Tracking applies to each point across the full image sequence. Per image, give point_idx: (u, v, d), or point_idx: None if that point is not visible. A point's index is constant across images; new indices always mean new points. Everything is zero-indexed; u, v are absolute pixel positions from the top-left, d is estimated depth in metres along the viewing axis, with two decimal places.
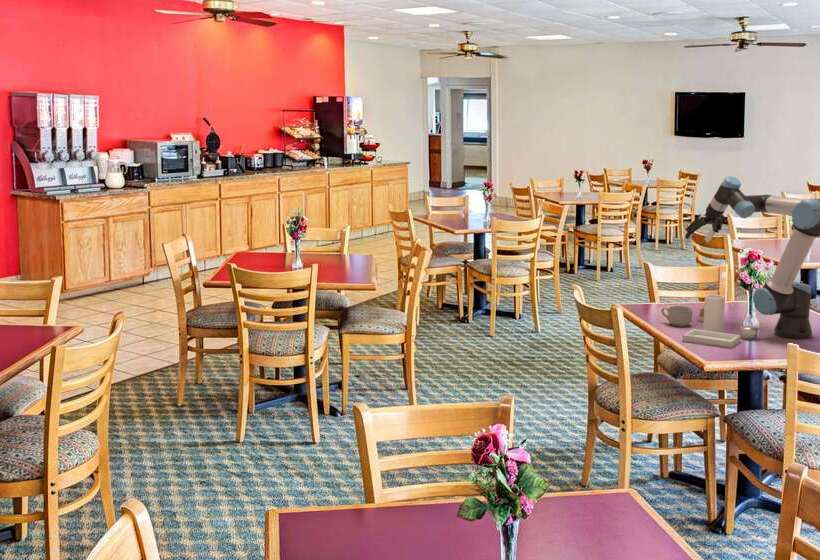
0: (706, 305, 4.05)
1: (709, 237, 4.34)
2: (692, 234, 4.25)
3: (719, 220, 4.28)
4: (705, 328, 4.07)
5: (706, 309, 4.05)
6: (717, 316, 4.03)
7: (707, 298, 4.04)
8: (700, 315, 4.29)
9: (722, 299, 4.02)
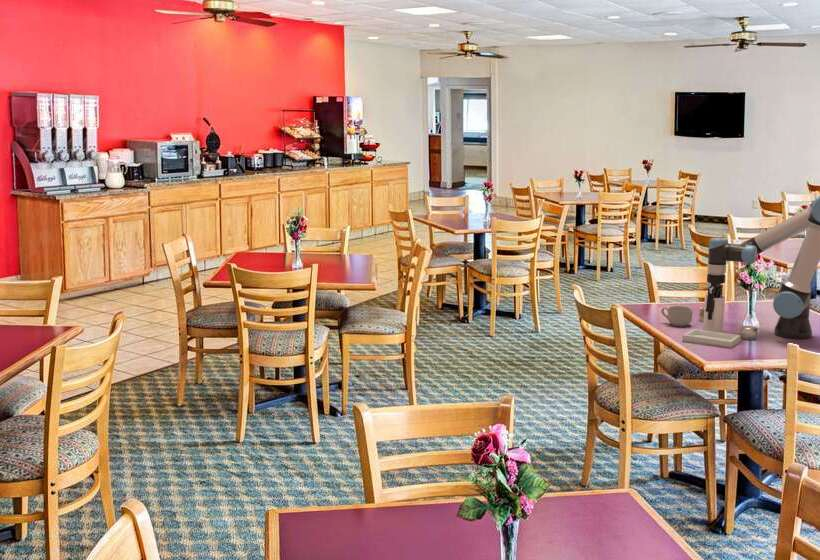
0: None
1: None
2: (713, 312, 4.02)
3: None
4: (705, 328, 4.07)
5: None
6: (717, 316, 4.03)
7: None
8: (700, 315, 4.29)
9: (722, 299, 4.02)
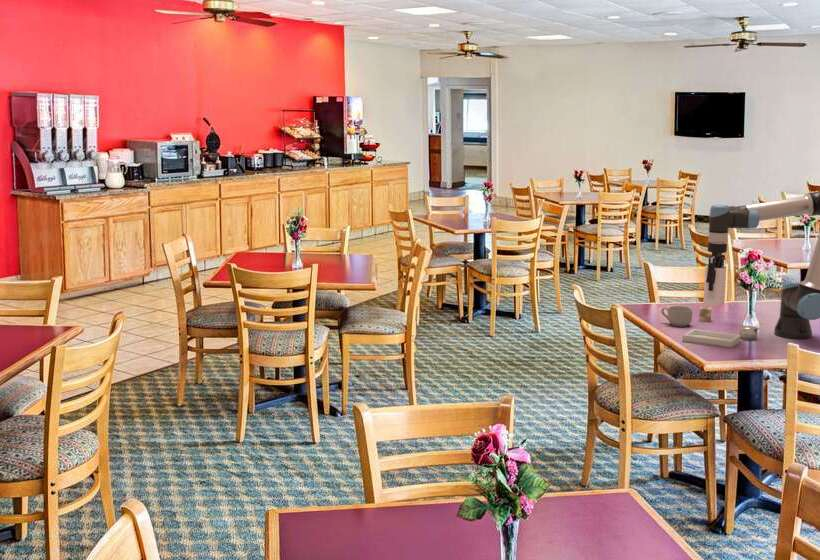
0: (706, 276, 3.85)
1: None
2: (714, 283, 3.82)
3: None
4: (705, 300, 3.87)
5: None
6: (718, 287, 3.83)
7: None
8: (700, 315, 4.29)
9: (723, 269, 3.83)
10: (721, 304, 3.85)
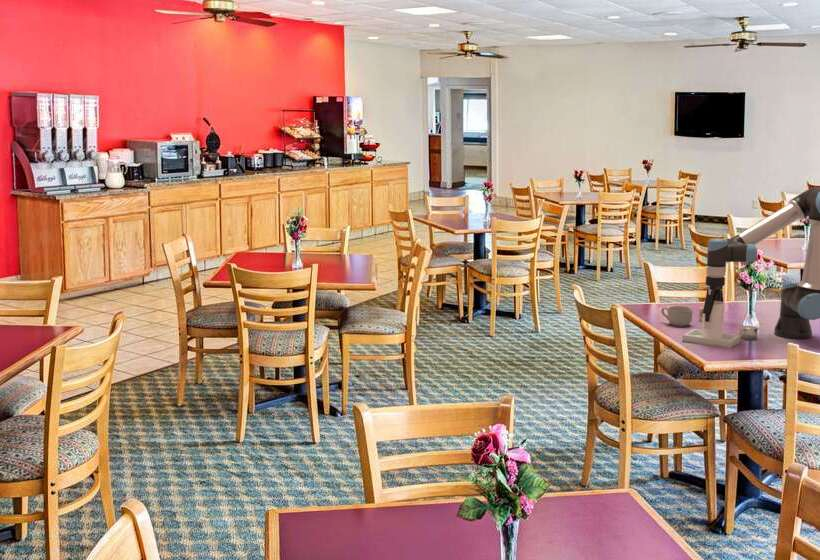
0: None
1: None
2: (711, 314, 3.83)
3: None
4: (703, 336, 3.89)
5: (704, 316, 3.88)
6: (716, 323, 3.86)
7: None
8: (700, 315, 4.29)
9: (721, 305, 3.85)
10: None
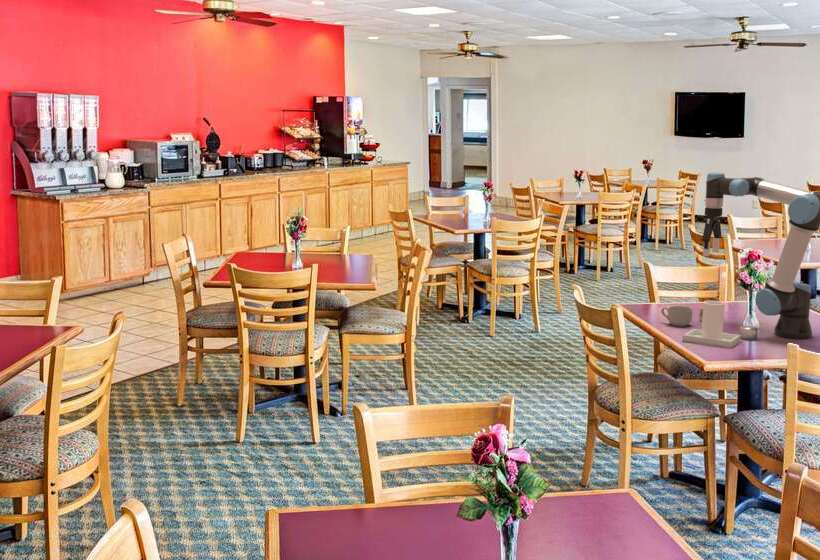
0: (705, 312, 3.88)
1: (717, 246, 4.26)
2: None
3: None
4: (703, 336, 3.89)
5: (705, 316, 3.88)
6: (716, 323, 3.86)
7: (706, 304, 3.87)
8: (700, 315, 4.29)
9: (721, 305, 3.85)
10: None
